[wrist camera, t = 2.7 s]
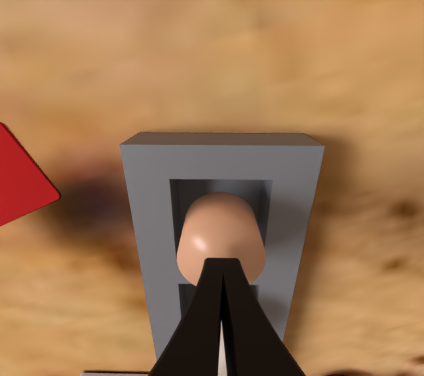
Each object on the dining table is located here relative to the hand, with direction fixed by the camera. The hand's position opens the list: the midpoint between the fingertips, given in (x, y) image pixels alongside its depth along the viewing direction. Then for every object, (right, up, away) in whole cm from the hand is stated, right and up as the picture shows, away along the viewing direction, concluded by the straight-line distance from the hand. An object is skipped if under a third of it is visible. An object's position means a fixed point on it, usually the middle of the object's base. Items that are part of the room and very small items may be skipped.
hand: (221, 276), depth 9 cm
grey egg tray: (0, -4, +9) cm, 10 cm away
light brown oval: (0, +2, +4) cm, 4 cm away
